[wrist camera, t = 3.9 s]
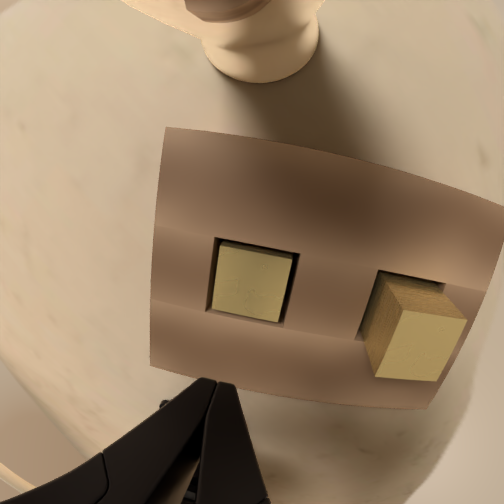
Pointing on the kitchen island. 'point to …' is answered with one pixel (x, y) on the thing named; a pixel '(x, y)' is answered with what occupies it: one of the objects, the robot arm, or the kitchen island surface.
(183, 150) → the walnut block
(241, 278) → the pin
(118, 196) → the kitchen island surface
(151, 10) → the beer glass
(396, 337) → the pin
